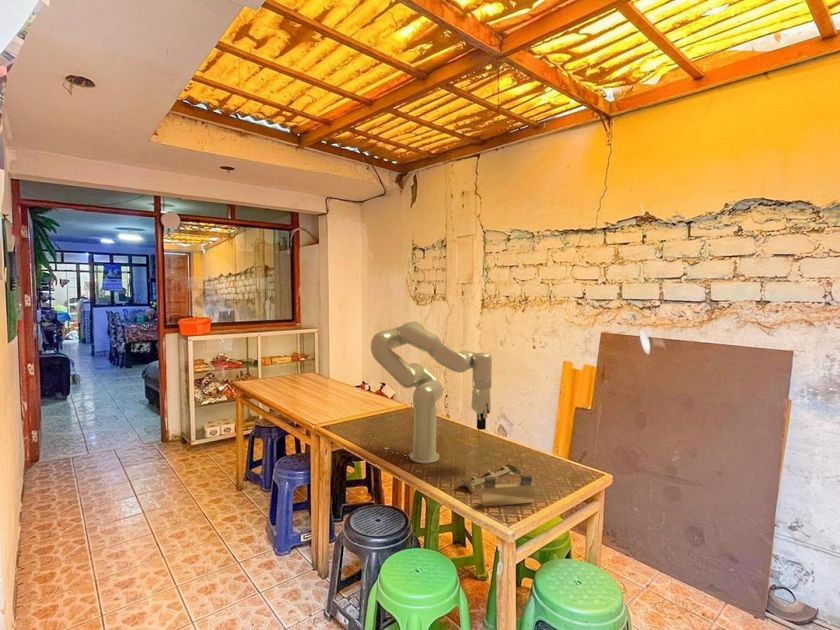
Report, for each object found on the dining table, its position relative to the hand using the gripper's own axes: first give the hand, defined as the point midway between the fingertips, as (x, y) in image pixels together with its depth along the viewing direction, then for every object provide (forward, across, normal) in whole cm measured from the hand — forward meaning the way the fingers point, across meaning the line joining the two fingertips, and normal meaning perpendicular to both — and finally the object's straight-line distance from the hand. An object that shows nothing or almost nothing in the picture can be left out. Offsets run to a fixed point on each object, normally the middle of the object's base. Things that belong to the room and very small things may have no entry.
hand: (481, 428), depth 169 cm
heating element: (+17, +11, 0) cm, 20 cm away
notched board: (+16, +29, -1) cm, 33 cm away
